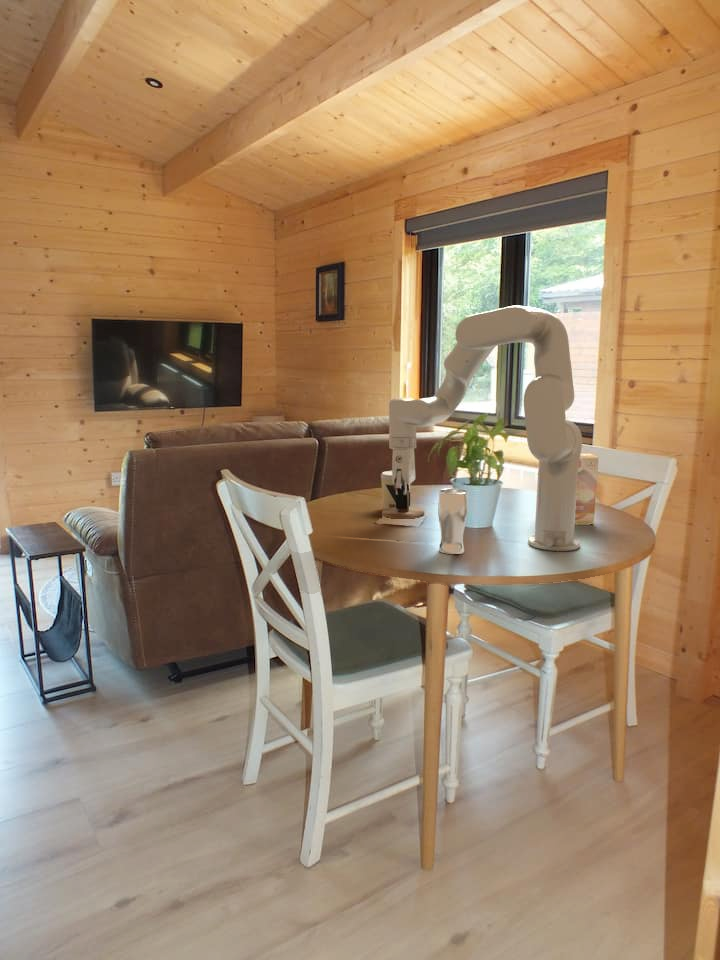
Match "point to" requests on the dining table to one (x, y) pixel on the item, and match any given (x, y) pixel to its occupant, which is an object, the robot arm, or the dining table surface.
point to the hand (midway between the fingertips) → (403, 506)
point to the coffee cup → (388, 490)
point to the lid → (403, 511)
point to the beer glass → (452, 519)
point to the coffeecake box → (586, 489)
